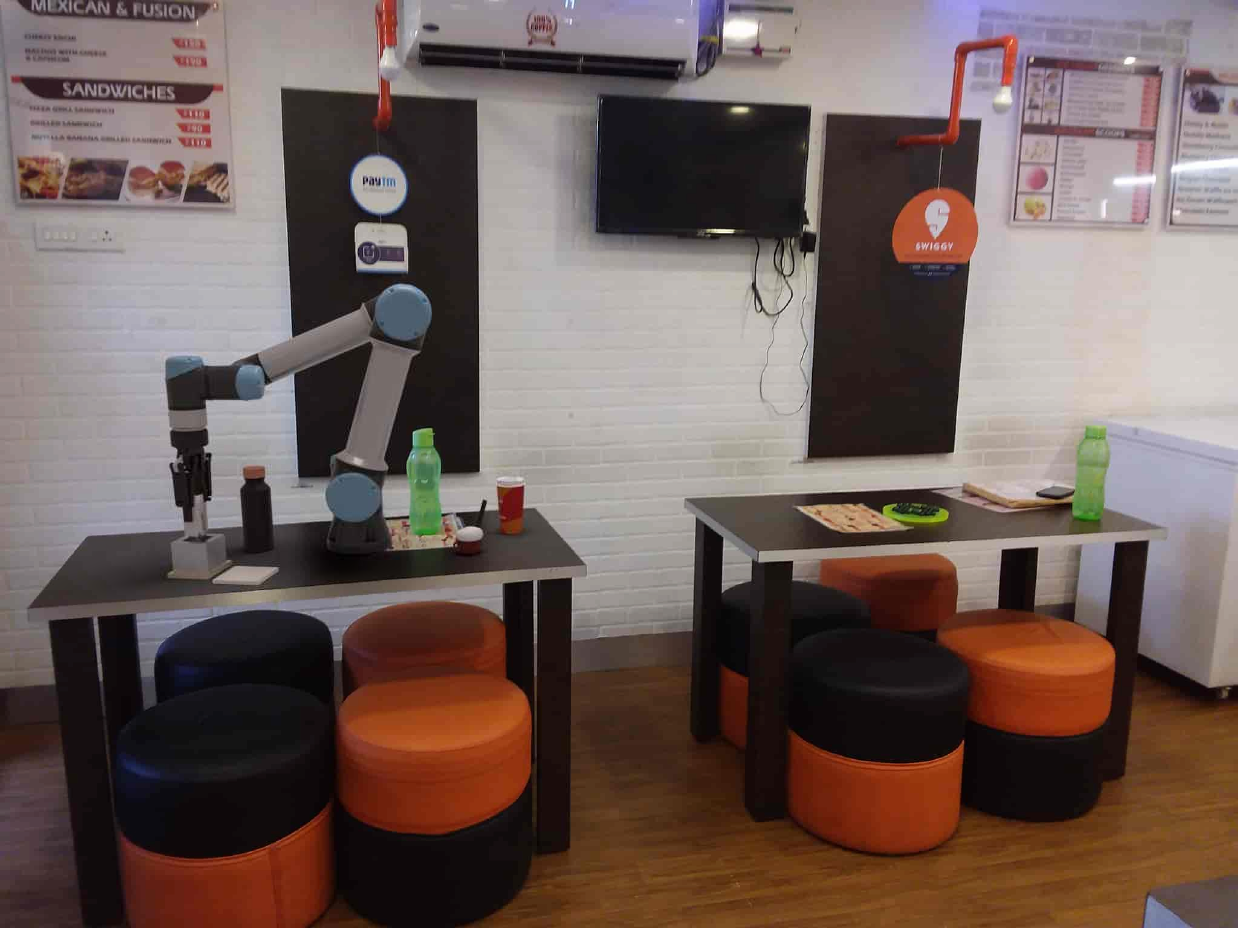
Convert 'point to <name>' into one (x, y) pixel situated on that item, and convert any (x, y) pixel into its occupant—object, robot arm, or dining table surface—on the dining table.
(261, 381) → the robot arm
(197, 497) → the metal cylinder
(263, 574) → the pad
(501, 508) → the paper cup
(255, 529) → the bottle
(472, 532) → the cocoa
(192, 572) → the grey box
